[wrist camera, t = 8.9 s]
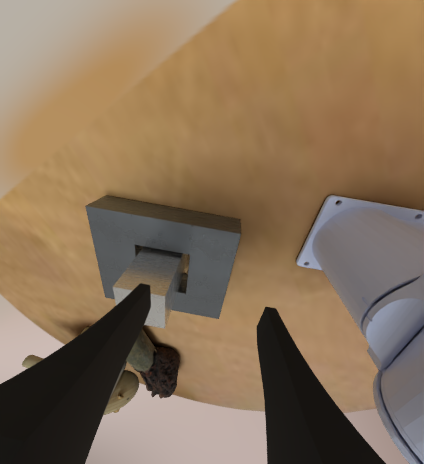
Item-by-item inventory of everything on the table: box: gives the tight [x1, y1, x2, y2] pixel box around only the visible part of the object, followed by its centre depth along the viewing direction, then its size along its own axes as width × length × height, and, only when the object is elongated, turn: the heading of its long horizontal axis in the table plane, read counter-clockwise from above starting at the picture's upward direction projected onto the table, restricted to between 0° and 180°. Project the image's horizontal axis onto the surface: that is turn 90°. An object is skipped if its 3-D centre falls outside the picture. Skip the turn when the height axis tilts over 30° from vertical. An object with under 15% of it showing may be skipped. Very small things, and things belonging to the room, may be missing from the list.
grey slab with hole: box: [86, 195, 241, 319], centre depth 20 cm, size 14×12×3 cm
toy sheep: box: [22, 327, 139, 417], centre depth 28 cm, size 11×17×11 cm, turn 71°
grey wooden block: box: [113, 246, 187, 328], centre depth 18 cm, size 4×4×8 cm
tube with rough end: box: [126, 329, 180, 398], centre depth 30 cm, size 18×7×6 cm, turn 19°
